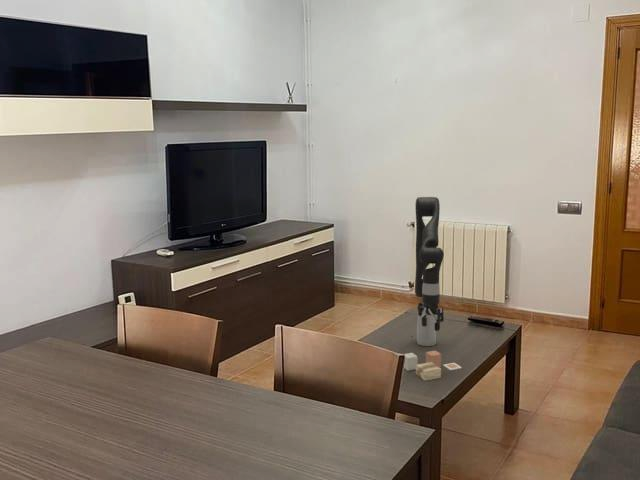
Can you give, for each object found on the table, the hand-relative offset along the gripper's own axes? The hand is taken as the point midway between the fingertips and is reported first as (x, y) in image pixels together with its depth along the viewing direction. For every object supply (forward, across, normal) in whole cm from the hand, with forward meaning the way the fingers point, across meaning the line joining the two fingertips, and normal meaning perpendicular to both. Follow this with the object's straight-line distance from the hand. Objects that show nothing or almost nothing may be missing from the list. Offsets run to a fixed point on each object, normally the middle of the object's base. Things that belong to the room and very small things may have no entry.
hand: (430, 328), depth 275 cm
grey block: (+20, +8, +5) cm, 22 cm away
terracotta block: (+20, +4, -6) cm, 21 cm away
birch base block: (+20, -3, +4) cm, 21 cm away
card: (+20, -2, -12) cm, 23 cm away
